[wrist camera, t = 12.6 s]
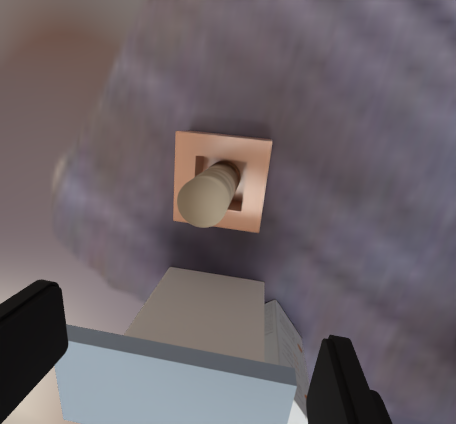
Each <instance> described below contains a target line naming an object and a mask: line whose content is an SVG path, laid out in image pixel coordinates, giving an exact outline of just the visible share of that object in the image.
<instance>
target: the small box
mask: <svg viewBox="0 0 456 424" xmlns="http://www.w3.org/2000/svg"><path fill="white" fill-rule="evenodd" d="M264 362H265V363H270V364H275V365H280V366H286V367H291V368H295V374H296V382H297V388H296V392H295V396H294V400H293V404H292V408H291V411H290V415H289V419H288V423H287V424H308V419H307V411H306V398H307V394H308V390H309V380H308V374H307V368H306V363H305V357H304V350H303V344H302V338H301V337H300V335H299V333H298V332H297V330H296V329H295V327H294V326H293V324H292V323H291V321H290V320H289V318H288V317H287V315H286V314H285V312H284V311H283V309H282V308H281V306H280V305H279V303H278V302H277V301H276V300H273V301H270V302H268V303H266V304H264Z"/></svg>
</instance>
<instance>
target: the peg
mask: <svg viewBox="0 0 456 424" xmlns="http://www.w3.org/2000/svg"><path fill="white" fill-rule="evenodd" d="M240 179H241V176H240V171H239V169H238V168H237V166H236V165H235V164H233V163H232V162H229V161H219V162H216V163H215V164H213V165H212V166H210V167H209V168H208V169H206V170H205V171H203V172H202V173H200V174H199V175H197V176H196V177H194V178H193V179H191V180H190V181H189V182H187V183H186V184H185V185H184V186H183V187H182V188H181V189H180V191H179V193H178V197H177V206H178V210H179V212H180V214H181V216H182V217H183V218H184V219H185V220H186V221H187V222H188V223H190V224H191V225H193V226H196V227H201V228H207V227H211V226H214V225H216V224H217V223H219V222H220V221H221V220H222V218H223V217H224V215H225V213H226V211H227V209H228V207H229V205H230V202H231V200H232V198H233V196H234V194H235V192H236V189H237V187H238V185H239V183H240Z"/></svg>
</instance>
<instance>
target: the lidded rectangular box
mask: <svg viewBox="0 0 456 424" xmlns="http://www.w3.org/2000/svg"><path fill="white" fill-rule="evenodd" d="M66 328H67V335H68V349H67V351H66V353H65V354H64V355H63V357H62V358H61V359H60V360H59V361H58V362H57V363H56V364H55V365H54V366H55V371H56V378H57V384H58V390H59V395H60V401H61V407H62V413H63V419H64V420H68V421H73V422H77V423H81V424H287V423H288V419H289V415H290V411H291V408H292V404H293V400H294V396H295V392H296V388H297V382H296V374H295V368H291V367H286V366H280V365H275V364H270V363H265V362H264V282H261V281H255V280H249V279H243V278H237V277H230V276H224V275H218V274H212V273H206V272H199V271H193V270H187V269H181V268H175V267H169V269H168V270H167V272H166V273H165V275H164V276H163V277H162V279H161V280H160V282H159V283H158V285H157V286H156V288H155V289H154V291H153V292H152V294H151V295H150V297H149V298H148V300H147V301H146V303H145V304H144V306H143V307H142V309H141V310H140V312H139V313H138V314H137V316H136V317H135V319H134V320H133V322H132V323H131V325H130V326H129V328H128V329H127V331H126V332H125V334H124V335H118V334H113V333H108V332H103V331H98V330H92V329H87V328H82V327H77V326H72V325H67V324H66Z"/></svg>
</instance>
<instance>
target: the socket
mask: <svg viewBox="0 0 456 424" xmlns="http://www.w3.org/2000/svg"><path fill="white" fill-rule="evenodd" d="M272 142H273V141H272V140H271V139H264V138H255V137H246V136H236V135H227V134H218V133H209V132H199V131H190V130H187V131H176V141H175V176H174V211H173V221H179V222H186V223H188V222H187V221H186V220H185V219H184V218H183V217H182V216H181V214H180V212H179V210H178V206H177V197H178V193H179V191H180V189H181V188H182V187H183V186H184V185H185V184H186V183H187V182H189V181H190V180H191V179H193V178H194V177H196V176H197V175H199V174H200V173H202V172H203V171H205V170H206V169H208V168H209V167H210V166H212V165H213V164H215V163H216V162H219V161H229V162H232V163H233V164H235V165H236V166H237V168H238V169H239V171H240V176H241V179H240V183H239V185H238V187H237V189H236V192H235V194H234V196H233V198H232V200H231V202H230V205H229V207H228V209H227V211H226V213H225V215H224V217H223V218H222V220H221V221H220V222H219V223H217V224H216V225H214V227H221V228H228V229H235V230H242V231H249V232H256V233H259V229H260V222H261V215H262V209H263V202H264V195H265V189H266V182H267V175H268V169H269V162H270V155H271V149H272Z"/></svg>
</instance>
